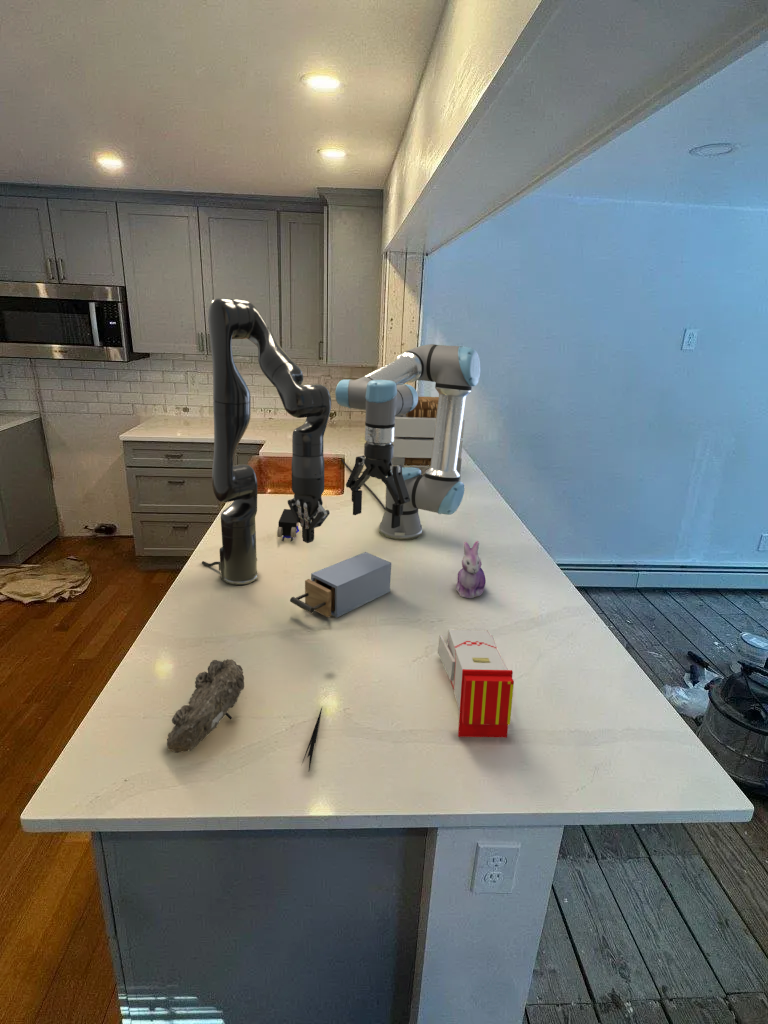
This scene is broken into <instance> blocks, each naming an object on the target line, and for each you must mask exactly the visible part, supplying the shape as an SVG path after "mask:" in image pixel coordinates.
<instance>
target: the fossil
mask: <svg viewBox="0 0 768 1024" xmlns="http://www.w3.org/2000/svg"><path fill="white" fill-rule="evenodd" d="M243 670H244V669H243V667H242V665H240V664H237V662H236V661H235V660H234V659H232V658H231V659H227V658H226V659H224V660H223V661H222V660H217V659H212V660H211V661H210V663H209V665H208V666H207V671H201V672H199V673H198V674H197V675H196V676H195V680H194V684H195V685H194V687H195V689H194V690H193V693H192V694H191V697H190V698H189V700H188V704H184V705H182V706H181V707H180V709H177V710H176V711H175V713H174V715H173V716H172V718H171V723H172V724H173V727H172V730H171V731H170V732H168V734H167V738H166V741H167V742H166V745H167V749H168V750H169V751H173V752H174V753H176V754H178V753H182V752H188V751H189V752H192V751H193V750H195V748H196V747H197V746H199V744H200V743H201V742H203V741H204V740H205V739H206V738H207V737H208V736H209V735H210V734H211V733H212V732H214V730H215V729H217V727H218V726H219V724H220V722H221V721H222V720H223V719H224V718H225V716H226V717H227V719H229V720H233V717H232V715H230V714H229V710H230V709H231V708H234V706H235V704H236V703H237V702H238V699H239V697H240V695H241V693H242V691H243V690H245V689H244V688H245V675H244V671H243Z"/></svg>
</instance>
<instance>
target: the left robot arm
mask: <svg viewBox="0 0 768 1024" xmlns="http://www.w3.org/2000/svg"><path fill="white" fill-rule="evenodd" d="M207 315H208V319H207V321H208V332H209V343H210V352H211V362H212V412H213V415H212V416H213V455H212V458H213V460H212V466H211V467H212V468H211V469H212V470H211V487H212V492H213V494H214V496H215V498H216V499H217V500H218V501H219V502H220V503H230V502H232V503H231V504H230V505H228V506H227V507H226V508H225V509H224V510H223V511H221V513H220V530H221V544H222V546H221V547H220V548H219V561H214V562H211V563H208V562H207V561H203V560H202V561H201V564H202V565H204V566H205V567H213V566H215V565H218V571H220V579H221V580H222V581H224V582H225V583H227V584H229V585H233V586H234V585H235V586H241V585H248V584H251V583H253V582H255V581H256V580H257V579H258V577H259V576H258V556H257V532H256V529H257V528H256V515H257V513H258V491H259V490H258V489H259V488H258V487H259V486H258V478H257V474H256V471H255V470H254V468H253V467H252V466H251V465H249V464H247V463H240V464H235V465H234V458H235V453H236V450H237V449H238V448H237V447H238V446H239V443H240V442H241V440H242V438H243V436H244V434H245V433H246V431H247V429H248V426H249V425H250V420H251V414H252V413H251V409H252V407H251V403H252V402H251V399H252V398H251V392H250V389H249V387H248V385H247V383H246V381H245V379H244V378H243V376H242V374H241V372H240V371H239V369H238V368H237V365H236V364H235V360H234V356H233V355H234V354H233V347H232V346H233V345H232V340H249V341H250V342H251V343H252V344H254V345H255V347H256V348H257V361H258V362H257V363H258V365H259V369H260V370H261V372H262V373H263V375H264V376H265V377H266V378H267V380H268V381H269V382H270V383H271V384H272V385H273V387H274V388H275V389H276V392H277V394H278V396H279V398H280V401H281V404H282V406H283V408H284V410H285V411H286V413H287V414H289V415H290V416H291V417H293V418H295V419H304V418H305V420H304V423H303V424H302V425H300V426H297V427H296V428H294V430H293V431H292V435H291V436H292V438H291V441H292V442H291V446H292V455H291V456H292V457H291V492H292V493H293V498H292V499H288V500H287V505H288V507H289V509H291V511H292V514H293V516H294V518H295V520H296V522H297V523H299V525H300V527H301V538H302V542H304V543H306V544H310V543H312V542H314V540H315V529H317V528H319V527H321V526H322V525H323V523H324V522H326V519H328V517H329V515H330V510H329V509H325V507H324V506H323V504H324V502H323V499H322V495H323V493H324V492H325V456H324V436H325V432H326V429H327V425H328V422H329V418H330V414H331V409H332V396H331V394H330V391H329V389H328V388H327V387H326V386H325V385H323V384H322V383H311V384H303V382H304V374H303V373H304V372H303V371H302V369H301V368H300V367H299V365H297V363H296V362H295V361H294V360H293V359H292V358H291V357H290V356H289V355H288V353H286V351H285V350H284V349H283V348H282V346H281V345H280V344H279V342H278V341H277V339H276V337H275V336H274V334H273V332H272V330H271V329H270V327H269V325H268V324H267V322H266V321H265V318H264V317H263V316H262V314H261V313H260V311H259V309H258V308H257V307H256V306H255V304H254V303H252V302H251V301H250V300H247V299H240V298H222V297H221V298H219V297H218V298H215V299H213V300H212V301H211V302H210V304H209V308H208V314H207ZM297 513H298V514H297Z"/></svg>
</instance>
